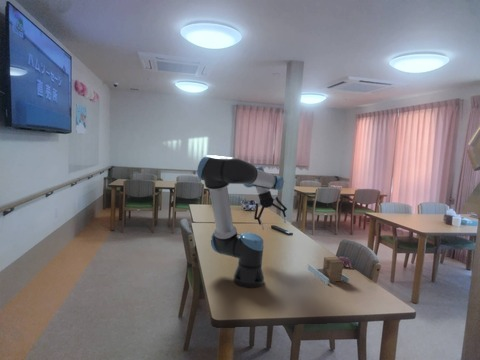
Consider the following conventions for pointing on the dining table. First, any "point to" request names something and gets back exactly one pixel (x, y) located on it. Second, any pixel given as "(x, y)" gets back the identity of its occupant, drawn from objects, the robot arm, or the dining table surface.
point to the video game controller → (345, 261)
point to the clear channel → (319, 274)
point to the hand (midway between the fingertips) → (274, 226)
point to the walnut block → (332, 268)
